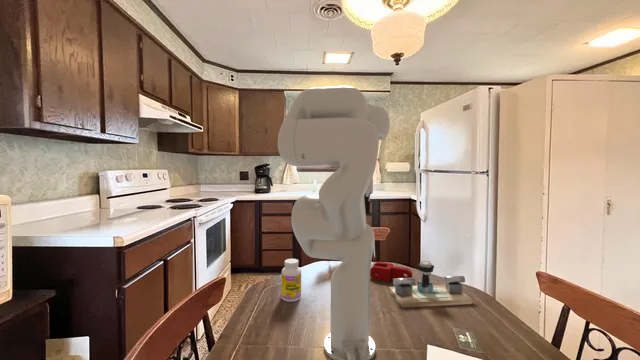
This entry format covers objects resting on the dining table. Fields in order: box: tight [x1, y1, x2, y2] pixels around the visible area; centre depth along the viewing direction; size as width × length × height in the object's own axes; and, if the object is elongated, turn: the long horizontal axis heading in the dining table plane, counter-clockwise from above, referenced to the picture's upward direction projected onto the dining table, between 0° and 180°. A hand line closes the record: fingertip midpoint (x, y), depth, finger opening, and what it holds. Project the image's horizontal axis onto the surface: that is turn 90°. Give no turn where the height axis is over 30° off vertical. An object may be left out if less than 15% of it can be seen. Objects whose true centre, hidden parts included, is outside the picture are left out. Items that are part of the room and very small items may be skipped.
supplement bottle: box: [280, 258, 302, 303], centre depth 96 cm, size 7×7×13 cm
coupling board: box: [388, 283, 474, 308], centre depth 98 cm, size 12×24×2 cm, turn 96°
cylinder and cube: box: [392, 275, 466, 297], centre depth 97 cm, size 5×25×5 cm, turn 96°
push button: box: [416, 260, 437, 293], centre depth 98 cm, size 7×5×10 cm
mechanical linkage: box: [370, 261, 413, 283], centre depth 113 cm, size 16×7×5 cm, turn 64°
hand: (360, 211), depth 91 cm, fingers open, 9 cm apart
